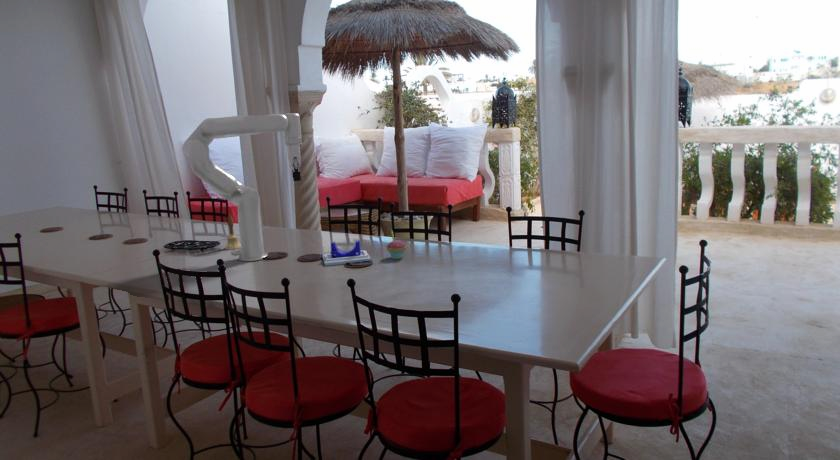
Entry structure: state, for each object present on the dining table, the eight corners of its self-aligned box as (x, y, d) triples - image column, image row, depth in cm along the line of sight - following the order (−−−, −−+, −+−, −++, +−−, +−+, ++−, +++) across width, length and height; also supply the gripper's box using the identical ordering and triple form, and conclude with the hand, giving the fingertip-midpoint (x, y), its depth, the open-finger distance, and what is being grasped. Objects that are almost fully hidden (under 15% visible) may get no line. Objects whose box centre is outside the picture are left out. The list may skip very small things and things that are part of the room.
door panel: (325, 266, 264) (324, 260, 263) (322, 257, 279) (322, 252, 279) (371, 261, 268) (370, 256, 267) (365, 252, 283) (365, 247, 283)
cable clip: (331, 258, 271) (330, 244, 270) (332, 255, 275) (331, 242, 274) (360, 256, 271) (358, 243, 270) (360, 254, 275) (359, 240, 274)
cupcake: (383, 259, 270) (381, 231, 268) (393, 254, 278) (391, 227, 275) (401, 260, 266) (399, 232, 264) (411, 255, 274) (409, 228, 271)
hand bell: (239, 249, 302) (236, 216, 299) (222, 250, 303) (218, 216, 299) (244, 245, 310) (241, 212, 307) (227, 246, 311) (224, 213, 307)
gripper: (284, 140, 293) (287, 178, 297) (285, 143, 277) (288, 182, 280) (301, 139, 295) (304, 176, 298) (302, 141, 278) (306, 181, 282)
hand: (296, 179), depth 289 cm, fingers open, 9 cm apart
